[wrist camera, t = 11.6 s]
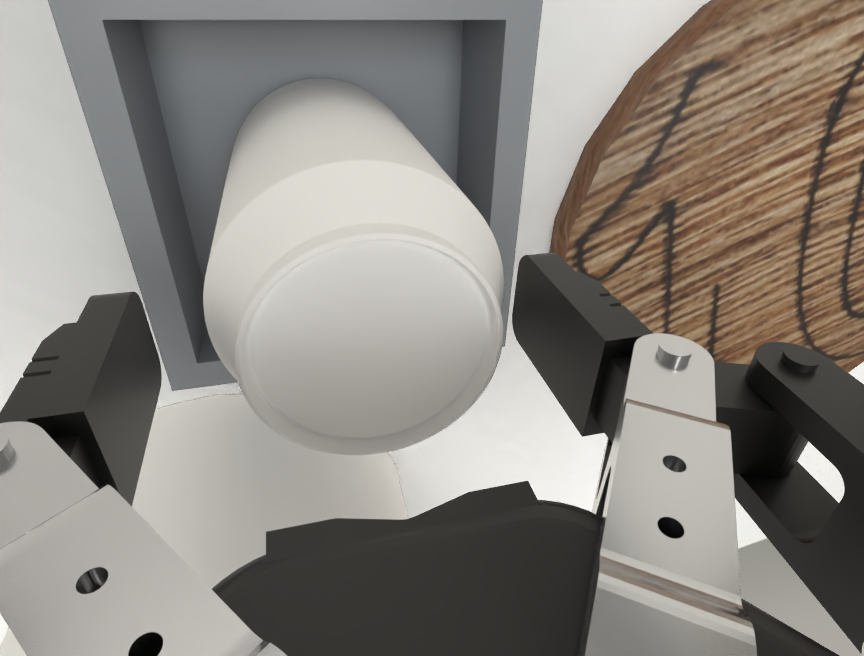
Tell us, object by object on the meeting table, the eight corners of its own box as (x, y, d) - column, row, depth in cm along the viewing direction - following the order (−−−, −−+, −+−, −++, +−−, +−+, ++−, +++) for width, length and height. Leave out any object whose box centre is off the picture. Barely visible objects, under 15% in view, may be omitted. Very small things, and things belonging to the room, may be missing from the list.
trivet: (589, 470, 36) (604, 492, 34) (477, 95, 21) (493, 105, 19) (938, 310, 35) (968, 325, 34) (1071, -182, 21) (1135, -194, 19)
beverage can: (216, 74, 17) (146, 208, 8) (408, 71, 19) (559, 181, 9) (248, 252, 21) (229, 503, 11) (408, 239, 22) (518, 453, 12)
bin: (189, 314, 23) (172, 390, 18) (96, -33, 16) (37, -34, 12) (466, 285, 25) (504, 346, 21) (484, -25, 18) (545, -24, 14)
